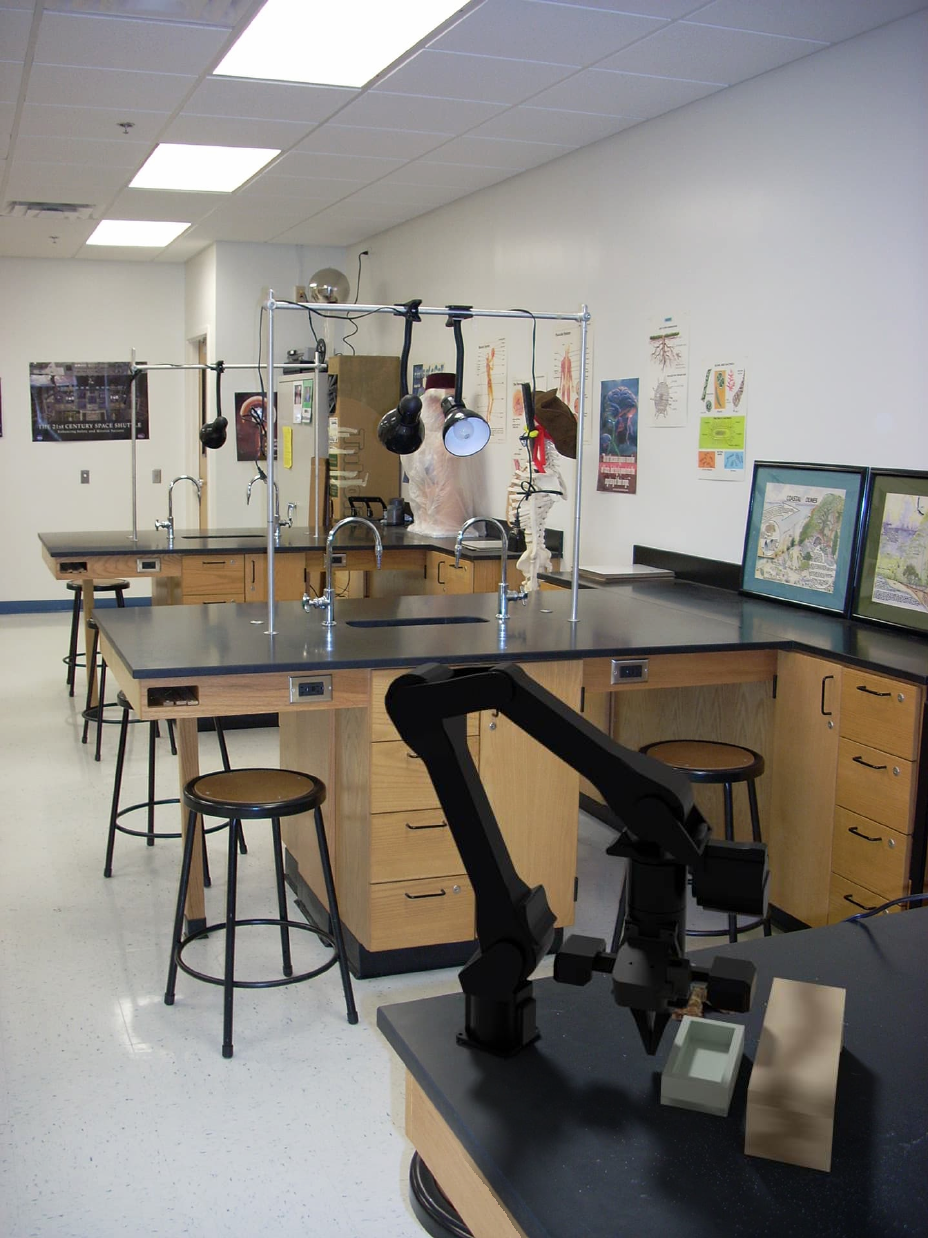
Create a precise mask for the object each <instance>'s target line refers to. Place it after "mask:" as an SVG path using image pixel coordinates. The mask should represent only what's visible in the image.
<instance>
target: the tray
mask: <svg viewBox="0 0 928 1238" xmlns="http://www.w3.org/2000/svg"><path fill="white" fill-rule="evenodd" d="M745 1027H746V1026H745V1025H744V1024H742V1025H741V1024H737V1023H730V1022H727V1021H726V1022H724V1021H720V1020H714V1019H709V1018H708V1019H707V1018H704V1017H703V1018H698V1017H692V1016H687V1015H684V1017H683V1020H681V1023H680V1026H679V1028H678V1031H677V1033H676V1036H675V1038H674V1041H673V1044H672V1047H671V1050H670V1052H669V1055H668V1058H667V1061H666V1062H665V1063H666V1064H665V1066H664V1068H663V1071H662V1074H661V1082H660V1083H661V1086H660V1089H661V1090H660V1104H661V1105H666V1106H671V1107H676V1108H681V1109H685V1110H690V1111H695V1112H700V1113H705V1114H710V1115H714V1116H719V1117H725V1118H727V1117H728V1113H729V1109H730V1105H731V1101H732V1098H733V1093H734V1089H735V1087H736V1082H737V1079H738V1075H739V1071H740V1066H741V1063H742V1059H743V1055H744V1049H745V1045H744V1044H745V1031H746V1030H745Z"/></svg>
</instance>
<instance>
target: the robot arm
mask: <svg viewBox="0 0 928 1238" xmlns="http://www.w3.org/2000/svg"><path fill="white" fill-rule="evenodd" d="M385 693H386V694H385V695H384V698H383V699H384V700H383V701H384V707H385V712H386V714H387V716H388V717H389V720H390V721H391V723H392V724H393V726H394V728H395V730H396V731H397V733H398V736H399V737H400V738H401V740H402V741H403V743H404V744H405V745H406V746H407V747H408V748H409V750H411V751H412V752H413V753H414V754H415V755H416V756H417V757H418V758H419V759H420V760H421V761H422V763H423V764H424V766H425V768H426V771H427V775H428V776H429V779H430V782H431V784H432V787H433V789H434V792H435V795H436V797H437V800H438V802H439V805H440V808H441V810H442V813H443V815H444V818H445V821H446V823H447V825H448V828H449V830H450V833H451V836H452V839H453V841H454V844H455V847H456V849H457V852H458V854H459V857H460V859H461V862H462V864H463V865H462V866H463V868H464V869H465V872H466V876H467V877H468V879H469V882H470V886H471V888H472V891H473V893H474V898H475V899H474V901H475V903H474V904H475V905H474V906H475V908H474V909H475V912H474V913H475V933H476V938H477V942H478V949H477V950H476V951H475V953H474V954H473V955H472V956H471V957H470V959H469V960H468V961H467V962H466V964H465V965H464V966H463V967H462V969H461V970H460V971H459V973H458V974H457V977H458V978H457V979H458V980H459V984H460V986H461V990H462V992H463V995H464V1027H463V1028H461V1029H460V1030H458V1031H457V1032H456V1033H455V1040H456V1041H459V1042H461V1043H465V1044H467V1045H470V1046H472V1047H476V1048H478V1049H480V1050H484V1051H486V1052H489V1053H491V1054H494V1055H496V1056H499V1057H502V1058H510V1057H512V1056H513V1055H514V1054H516V1053H517V1052H518V1051H519V1050H520V1049H522V1048H523V1047H524V1046H525V1045H527V1044H528V1043H530V1041H532V1040H533V1039H534V1038H536V1036H537V1037H538V1035H539V1034H540V1033H541V1027H540V1026H538V1025H537V999H536V998H535V997H534V996H533V995H534V982H533V980H530V979H529V978H530V976H531V975H533V973H535V971H536V970H537V968H538V967H539V964H540V963H541V962H542V960H543V959H544V957H545V956H546V955H547V953H548V951H550V948H551V946H552V944H553V943H554V940H555V935H556V934H555V933H556V932H555V926H554V925H555V923H556V922H557V921H558V917H557V916H556V914H555V913H554V912H553V911H552V909H551V906H550V905H549V901H548V898H547V892H546V890H545V887H544V884H542V883H541V884H538V885H536V886H534V887H532V888H531V887H530V886H529V885H528V884H527V883H526V882H525V881H524V880H523V879H522V878H521V877H520V876H519V874H518V872H517V871H516V868H515V866H514V865H515V864H514V862H513V859H512V858H511V855H510V853H509V850H508V848H507V844H506V842H505V839H504V836H503V834H502V832H501V828H500V827H499V823H498V821H497V818H496V816H495V814H494V811H493V808H492V805H491V802H490V800H489V797H488V795H487V791H486V790H485V787H484V784H483V781H482V779H481V776H480V774H479V772H478V769H477V767H476V763H475V761H474V758H473V756H472V754H471V751H470V748H469V744H468V714H469V715H470V714H473V713H477V712H482V711H490V710H491V711H492V710H495V711H497V712H499V713H500V714H501V715H502V716H503V717H505V718H506V719H507V720H508V721H510V722H512V723H513V724H514V725H516V726H517V727H518V728H519V729H521V730H522V731H523V732H525V733H526V734H527V735H528V736H529V737H531V738H532V739H534V740H535V741H537V742H538V743H539V744H541V746H543V747H544V748H545V749H547V750H548V751H549V752H551V753H552V754H553V755H554V756H556V757H557V758H559V759H560V760H562V762H564V763H565V764H567V765H568V766H569V767H571V768H572V769H573V770H574V771H576V772H577V773H578V774H579V775H581V776H582V777H584V778H585V779H586V780H587V781H588V782H590V784H591V785H592V786H593V787H594V788H595V789H596V791H598V793H599V795H600V796H601V798H602V799H603V801H604V803H605V804H606V806H607V807H608V809H609V811H611V812H612V814H613V815H615V817H616V818H617V819H618V820H619V821H620V822H621V823H622V824H623V825H624V828H623V830H622V831H621V833H619V834H617V835H616V836H614V837H613V838H612V839H611V841H610V842H609V844H608V846H606V848H605V854H606V855H607V856H609V857H610V856H611V857H618V858H625V859H626V883H625V884H626V886H625V887H626V888H625V918H624V926H623V935H622V937H621V939H620V943H619V944H618V946H617V947H618V948H617V953H614V952H607V942H606V940H605V938H601V937H594V936H588V935H581V934H575V933H571V934H570V935H569V936H568V937H566V939H565V940H564V941H563V943H562V944H561V945H560V947H559V948H558V951H557V952H556V953H555V955H554V959H553V967H552V968H553V971H552V973H553V974H552V979H553V980H554V981H555V982H556V983H559V984H564V985H565V984H566V985H570V986H571V985H572V986H577V987H585V985H587V984H589V982H591V981H592V980H593V977H594V976H593V972H596V973H597V972H598V973H604V974H609V975H611V977H612V989H611V992H610V994H611V996H612V998H613V1000H614V1003H615V1004H616V1005H617V1006H619V1007H624V1008H628V1009H629V1010H630V1013H631V1015H632V1018H633V1019H634V1023H635V1025H636V1028H637V1030H638V1034H639V1036H640V1039H641V1042H642V1044H643V1045H642V1046H643V1048H644V1051H645V1054H646V1056H652V1057H656V1055H657V1053H658V1049H659V1047H660V1044H661V1042H662V1039H663V1036H664V1033H665V1030H666V1028H667V1026H668V1024H669V1021H670V1020H671V1019H672V1018H671V1016H672V1014H673V1013H674V1012H675V1010H676V1009H679V1010H684V1009H687V1008H688V1006H689V1003H690V1000H691V998H692V995H693V992H694V990H695V988H701V989H707V996H706V1000H707V1001H708V1002H709V1003H710V1004H711V1005H712V1007H713V1009H716V1010H718V1009H720V1010H726V1011H732V1012H734V1013H738V1014H745V1013H746V1014H747V1013H749V1012H750V1011H751V1008H752V1004H753V1001H754V997H755V993H756V989H757V973H758V970H757V967H756V966H755V965H754V963H753V962H752V961H751V960H746V959H740V958H734V957H733V958H732V957H728V956H726V957H725V956H722V955H721V956H720V955H715V956H714V959H713V962H712V964H711V968H709V967H704V966H698V965H697V966H696V964H695V963H691V960H690V959H689V958H686V941H687V940H686V939H687V938H686V934H687V908H688V907H687V906H688V904H687V903H688V878H689V877H688V876H689V875H688V874H689V866H691V867H692V871H691V873H692V874H691V875H692V876H691V897H692V898H694V899H695V901H696V903H695V904H696V906H698V907H702V910H703V911H706V912H711V913H712V912H713V913H719V914H720V913H721V914H728V915H733V916H734V915H736V916H740V917H747V918H748V917H749V918H756V919H761V920H762V919H763V920H764V919H766V916H767V913H768V905H769V899H770V898H769V897H770V885H771V870H770V869H769V856H768V844H767V843H766V842H760V841H747V842H746V841H745V842H744V841H743V842H742V841H735V840H726V839H719V838H713V835H714V833H715V831H714V829H713V827H712V826H711V824H710V823H709V821H708V820H707V818H706V817H705V815H704V814H703V813H702V811H701V809H700V808H699V806H698V805H697V804H696V803H695V797H694V789H693V785H692V783H691V781H690V780H689V778H688V777H687V776H686V775H685V774H684V773H682V772H681V771H680V770H678V769H676V768H674V767H673V766H671V765H669V764H666V763H665V762H663V761H661V760H659V759H657V758H656V757H653V756H651V755H648V754H646V753H642V752H641V751H640V752H639V751H636V750H635V749H633V750H632V749H631V748H628V747H626V746H624V745H622V744H620V743H619V742H617V741H616V740H614V739H613V738H612V737H611V736H609V735H608V734H607V733H605V732H604V731H602V730H601V729H600V728H598V727H597V726H596V725H595V724H593V723H592V722H590V721H589V720H588V719H587V718H585V717H584V716H582V715H581V714H580V713H579V712H577V711H576V710H574V709H573V708H572V707H571V706H569V705H568V704H566V703H565V702H564V701H563V700H562V699H560V698H559V697H558V696H557V695H555V694H553V693H552V692H551V691H550V690H549V689H547V688H545V687H544V686H543V685H541V684H540V683H539V682H538V681H536V680H535V679H534V678H532V677H531V676H529V675H528V674H527V672H526V671H525V670H524V669H523V667H521V665H518V664H517V663H515V662H509V661H504V662H500V663H498V664H492V665H471V666H469V665H467V666H461V667H455V668H451V667H448V666H446V665H444V664H442V663H438V662H432V661H431V662H427V663H426V662H425V663H424V664H421V665H419V666H417V667H415V668H413V669H411V670H409V671H407V672H405V673H404V674H401V675H399V676H397V677H396V678H395V679H393V680H392V682H391V683H389V686H388V688H387V691H386V692H385ZM711 1005H710V1006H711ZM720 1010H719V1011H720ZM654 1013H655V1014H654Z"/></svg>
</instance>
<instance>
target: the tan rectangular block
mask: <svg viewBox="0 0 928 1238" xmlns="http://www.w3.org/2000/svg"><path fill="white" fill-rule="evenodd" d="M846 991H847V989H846V988H841V987H836V986H835V987H834V986H829V985H821V984H816V983H809V982H804V981H798V980H790V979H785V978H781V977H780V978H779V977H773V981H772V985H771V990H770V993H769V998H768V1002H767V1006H766V1010H765V1011H766V1012H765V1015H764V1019H763V1022H762V1023H763V1024H762V1027H761V1032H760V1036H759V1041H758V1044H757V1049H756V1054H755V1058H754V1062H753V1066H752V1070H751V1074H750V1078H749V1084H748V1088H747V1097H746V1098H747V1102H746V1117H745V1118H746V1120H745V1137H744V1140H745V1141H744V1155H748V1156H753V1157H758V1158H763V1159H767V1160H770V1161H771V1160H773V1161H777V1162H781V1163H786V1164H791V1165H794V1166H800V1167H805V1168H807V1169H808V1168H810V1169H815V1170H817V1171H818V1170H819V1171H823V1172H828V1173H830V1172H831V1164H832V1163H831V1161H832V1147H833V1145H832V1144H833V1131H834V1118H835V1117H834V1115H835V1104H836V1103H835V1102H836V1096H837V1095H836V1094H837V1093H836V1092H837V1085H838V1084H837V1083H838V1076H839V1075H838V1074H839V1064H840V1053H842V1050H843V1036H844V1027H845V1025H844V1023H845V1010H846V1009H845V1007H846V994H847V993H846Z"/></svg>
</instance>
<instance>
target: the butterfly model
mask: <svg viewBox="0 0 928 1238" xmlns="http://www.w3.org/2000/svg"><path fill="white" fill-rule="evenodd" d="M706 996H707V989H701V988H695V990H694V992H693V995H692V998H691V1000H690V1003H689V1006H688V1008H687V1009H684V1010H679V1009H676V1010H675V1012H674V1013H673V1014H672V1016H671V1018H670V1019H673V1020H675V1021H682V1020H683V1017H684V1015H687V1016H692V1017H698V1018H704V1016H703V1013H702V1012H703V1003H706V1004H708V1005H709V1006H712V1005H711V1004H710V1003H709V1002H708V1001H707V1000H706ZM712 1007H713V1006H712ZM717 1010H719V1012H721V1013H723V1014H724V1015H732V1014H734V1013H735V1012H732V1011H726V1010H720V1009H717Z"/></svg>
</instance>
